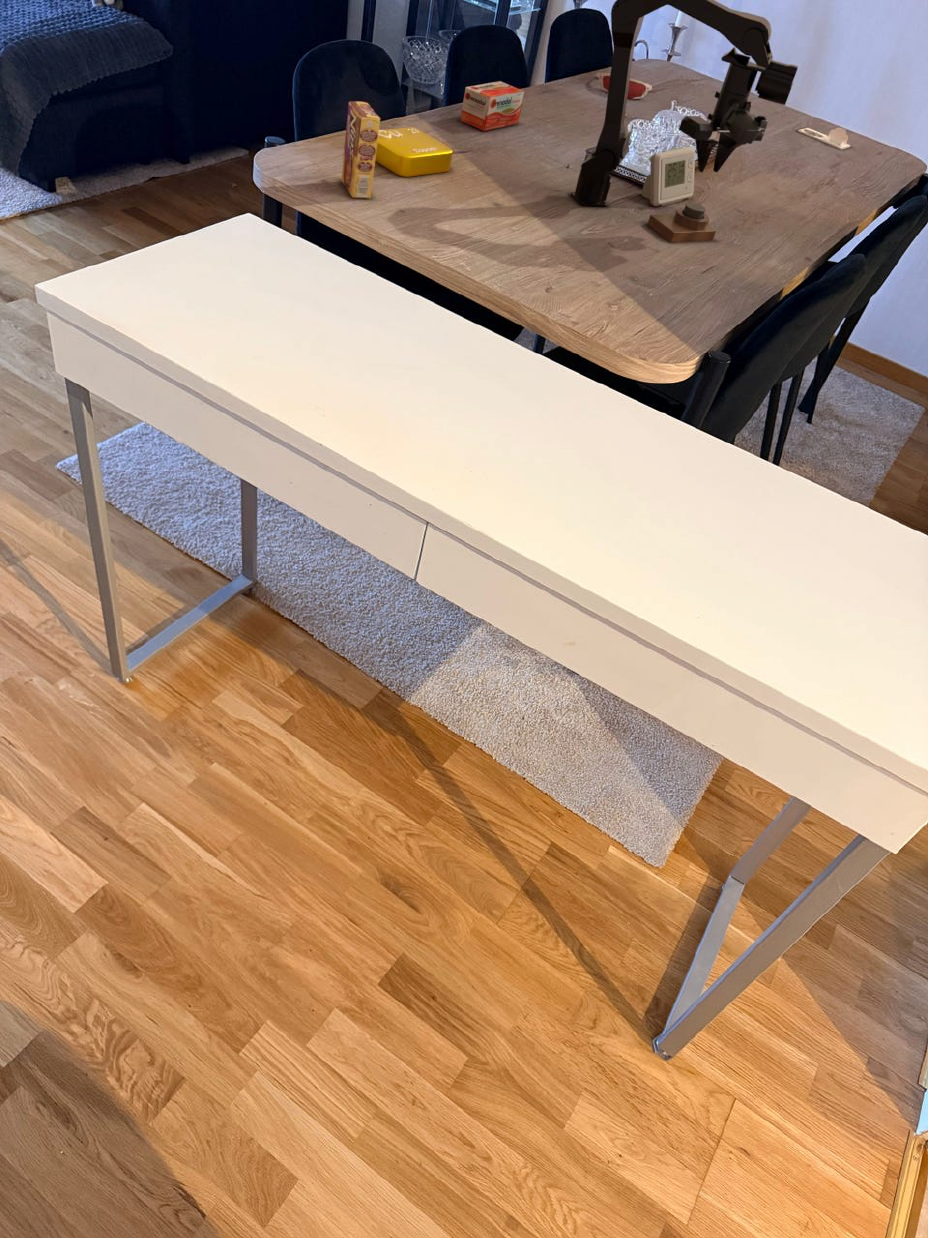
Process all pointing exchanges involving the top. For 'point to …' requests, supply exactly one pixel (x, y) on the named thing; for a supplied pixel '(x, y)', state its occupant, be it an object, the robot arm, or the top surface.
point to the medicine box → (492, 105)
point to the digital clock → (670, 176)
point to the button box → (682, 227)
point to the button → (694, 210)
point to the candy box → (360, 149)
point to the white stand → (829, 137)
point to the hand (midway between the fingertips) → (707, 171)
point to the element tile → (411, 152)
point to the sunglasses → (635, 87)
